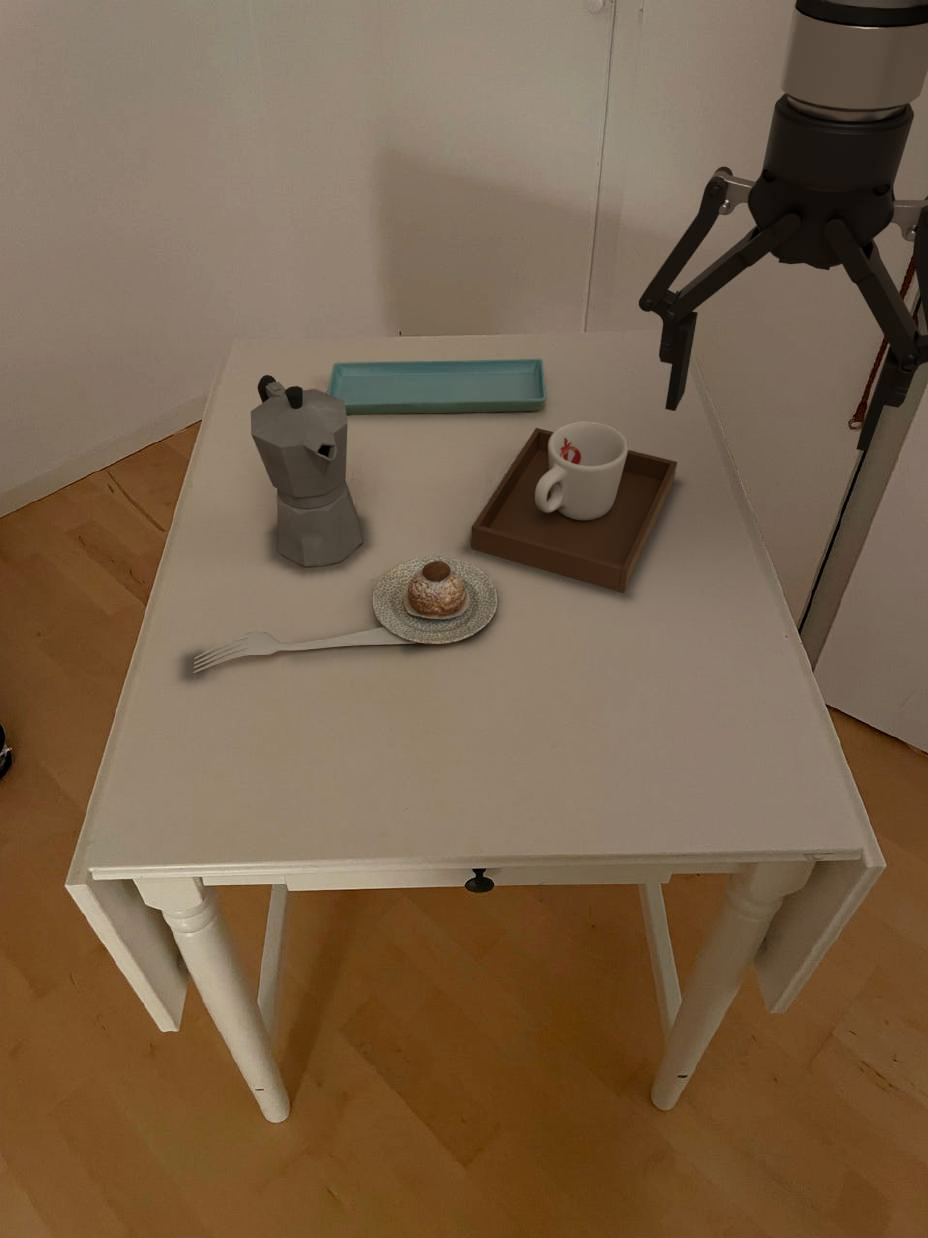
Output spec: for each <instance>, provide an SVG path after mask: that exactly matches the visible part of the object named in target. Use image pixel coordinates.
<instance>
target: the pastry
mask: <svg viewBox="0 0 928 1238" xmlns="http://www.w3.org/2000/svg"><path fill="white" fill-rule="evenodd" d="M371 606H372V609H373V612H374V615H375V617H376V619H377V621H378V622H379V623H380V624H381V625H382V627H385V628H386V629H387V630H389V631H390V632H392V633H394V634H396V635H398V636H399V637H402V638H405V639H406V640H407V641H409V642H412V641H413V642H417V643H418V644H428V645H441V644H450V643H454V642H460V641H462V640H465V639H467V638H469V637H472V636H473V635H475V634H477V633H478V632H480V631H481V630H482V629H484V628H485V627H486V626H487V625H488V624H489V623H490V622H491V621H492V618H494V616H495V613H496V611H497V609H498V593H497V590H496V587H495V585H494V583H493V581H492V579H490V577H489V575H488V574H486V573H485V572H484V571H483V570H482V569H480V568H479V567H477V566H476V565H473V564H472V563H469V562H466V561H464V560H461V559H458V558H454V557H445V556H440V555H439V556H438V555H432V556H431V555H430V556H421V557H417V558H413V559H410V560H408V561H405V562H402V563H398V564H397V565H395V566H393V567H392V568H391V569H389V570H388V571H387V572H385V573H384V574H383V575H382V576H381V577H380V578H379V579H378V580H377V582H376V584H375V586H374V588H373V590H372V598H371Z"/></svg>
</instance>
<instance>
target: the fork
mask: <svg viewBox="0 0 928 1238" xmlns="http://www.w3.org/2000/svg"><path fill="white" fill-rule="evenodd" d="M417 643H418V642H413V641H412V642H409V641H407V640H406V639H405V638H402V637H399V636H398V635H396V634H394V633H392V632H390V631H389V630H387V629H386V628H385V627H384V626H382V627H377V628H376V627H375V628H373V629H368V630H364V631H359V632H354V633H350V634H345V635H341V636H336V637H330V638H325V639H319V640H318V639H317V640H311V641H303V642H292V643H291V642H284V641H280V640H278V639H277V638H275V637H274V636H273V634H271V633H269V632H266V631H251V632H246V633H243V634H239V635H237V636H234V637H231V638H229V639H227V640H225V641H223V642H221V643H219V644H217V645H215V646H213V647H211V648H209V649H207V650H205V651H203V652H202V653H200V654H199V655H197V656H195V657H194V658H193V659H194V660H197V659H198V660H197V661H195V662H193V665H195V666H193V669H196V670H194V671H193V674H196V673H199V672H201V671H203V670H206V669H209V668H210V667H213V666H217V665H219V664H221V663H225V662H227V661H230V660H232V659H237V658H240V657H244V656H269V655H272V654H274V653H275V652H280V651H306V650H315V649H326V648H337V647H352V646H375V645H376V646H377V645H378V646H379V645H413V644H417ZM207 654H208V655H207ZM203 656H204V657H203ZM201 657H202V658H201ZM212 661H213V662H212ZM198 663H199V664H198ZM201 666H202V667H201ZM199 667H200V668H199ZM197 668H198V669H197Z"/></svg>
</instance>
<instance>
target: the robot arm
mask: <svg viewBox="0 0 928 1238" xmlns="http://www.w3.org/2000/svg"><path fill="white" fill-rule="evenodd" d="M791 14H792V15H791V20H790V25H789V31H788V35H787V41H786V46H785V51H784V57H783V61H782V66H781V72H780V78H779V81H778V82H779V83H778V84H779V87H780V89H781V90H782V92H783V95H781V96H780V97H779V99H777V100H776V101H775V104H774V107H773V113H772V118H771V122H770V128H769V133H768V137H767V142H766V143H767V144H766V147H765V153H764V158H763V162H762V167H761V172H760V175H759V176H758V178H757V179H756V181H753V180H750V179H746V178H742V177H739V176H735V175H734V173H733V171H732V169H731V168H729V167H728V166H720V167H718V168H717V169H716V170H715V171H714V173H713V174H712V175H711V177H710V178H709V180H708V182H707V184H706V185H705V187H704V190H703V193H702V197H701V198H702V199H701V202H700V205H699V209H698V212H697V214H696V215H695V217H694V219H693V220H692V221H691V223H690V224H689V225H688V227H687V229H686V230H685V231H684V233H683V234H682V235H681V237H680V239H678V242H677V243H676V245H675V246H674V247H673V249H672V250H671V252H670V253H669V255H668V256H667V257H666V259H665V260H664V262H663V263H662V264H661V266H660V268H659V269H658V270H657V272H656V273H655V275H654V276H653V278H652V279H651V281H650V282H649V283H648V285H647V287H646V288H645V289H644V291H643V293H642V295H641V296H640V298H639V299H638V307H639V309H640V310H642V311H643V312H644V313H649V312H653V313H654V314H656V315H658V316H659V318H661V319H660V320H661V321H662V329H661V336H660V344H659V349H658V357H659V361H660V362H661V363H664V364H668V365H669V364H671V368H670V374H669V381H668V386H667V387H668V388H667V395H666V401H665V408H664V409H665V410H668V411H672V412H676V410H677V409H678V406H679V404H680V403H681V401H682V399H683V396H684V395H685V393H686V385H687V379H688V375H689V369H690V368H689V367H690V363H691V357H692V350H693V344H694V339H695V332H696V325H697V320H698V315H699V314H698V313H699V312H698V311H695V310H696V309H697V308H698V307H700V306H701V305H702V304H704V303H705V302H706V301H707V300H708V299H710V298H711V297H712V296H713V295H715V294H717V292H718V291H720V290H721V289H722V288H724V287H725V286H727V284H729V283H730V282H731V281H732V280H733V279H735V278H736V277H737V276H739V275H740V274H741V273H742V272H744V271H745V270H746V269H748V268H750V267H752V266H754V265H755V264H756V263H757V262H759V261H760V260H761V259H762V258H764V257H765V256H767V254H769V253H770V254H771V255H772V257H775V258H776V259H778V263H779V264H785V265H798V264H806V265H808V266H810V267H812V268H814V269H817V270H824V271H830V269H831V268H833V267H837V266H840V265H842V266H843V269H844V270H845V272H846V274H847V276H848V278H849V279H850V281H851V282H852V283H853V284H855V285H856V286H857V288H858V290H859V292H860V294H861V296H862V297H863V299H864V301H865V303H866V305H867V306H868V308H869V310H870V312H871V313H872V316H873V317H874V319H875V321H876V323H877V325H878V326H879V328H880V330H881V332H882V334H883V336H884V337H885V339H886V341H887V343H888V344H889V346H888V348H887V351H886V355H885V358H884V361H883V364H882V367H881V370H880V373H879V376H878V378H877V381H876V383H875V384H876V385H875V387H874V390H873V394H872V396H871V400H870V403H869V405H868V407H867V411H866V414H865V417H864V420H863V423H862V426H861V429H860V432H859V437H858V441H857V444H856V450H857V451H862V452H869V449H870V446H871V444H872V440H873V438H874V435H875V432H876V429H877V426H878V423H879V420H880V418H881V415H882V412H883V409H884V406H886V407H887V406H888V407H892V408H897V409H899V408H901V406H902V405H903V403H904V402H905V400H906V398H907V395H908V392H909V389H910V387H911V385H912V382H913V379H914V377H915V374H916V372H917V370H918V369H919V367H921V365H923V364H926V363H928V334H922V333H921V331H920V330H919V328H918V326H917V323H916V322H915V319H914V318H913V316H912V315H911V313H910V310H909V309H908V307H907V305H906V303H905V301H904V299H903V297H902V295H901V294H900V292H899V290H898V288H897V287H896V284H895V283H894V281H893V279H892V277H891V275H890V273H889V271H888V268H887V266H886V265H885V264H884V262H883V260H882V257H881V254H880V250H879V247H878V244H877V243H876V242H875V240H874V239H875V238H876V237H877V236H878V235H879V234H881V233H882V232H883V231H885V229H886V228H888V227H889V225H890V224H891V223H892V224H896V225H897V226H899V228H900V232H901V237H902V238H903V240H905V241H907V242H912V243H913V251H912V252H913V253H912V257H913V263H914V269H915V274H916V279H917V284H918V289H919V294H920V295H919V296H920V299H921V306H922V310H923V315H924V320H925V321H924V322H925V326H926V331H927V332H928V195H927V196H926V197H925V198H924V199H896V195H895V191H894V187H895V182H896V179H897V175H898V172H899V169H900V165H901V161H902V159H903V155H904V152H905V149H906V145H907V141H908V138H909V135H910V131H911V128H912V126H913V125H912V124H913V122H914V118H915V111H914V110H913V108H912V105H911V103H912V102H913V101H915V100H917V99H918V98H919V97H920V96H921V93H922V90H923V88H924V84H925V80H926V77H927V74H928V0H796V1H795V3H794V5H793V9H792V13H791ZM740 204H747V208H748V210H749V212H750V214H751V216H752V219H753V220H754V224H755V226H753V228H751V229H750V230H749V231H748V232H747V234H745V236H744V237H742V238H741V239H740V240H739V241H737V242H736V243H735V244H734V245H733V246H732V247H730V248H729V249H728V250H727V251H726V252H724V253H723V254H722V255H721V256H720V257H719V258H716V260H715V261H714V262H712V263H711V264H710V265H709V266H708V267H706V268H705V269H704V270H703V271H701V272H700V274H698V275H697V276H696V277H694V278H693V279H692V280H691V281H690V282H688V283H687V284H686V285H684V287H682V288H681V289H680V290H676V291H675V292H673V291H671V290H670V287H671V286H672V284H673V283H674V282H675V280H676V279H677V277H678V276H680V274H681V272H682V270H683V269H684V268H685V266H686V265H687V264H688V262H689V261H690V260H691V258H692V257H693V256H694V255H695V254H694V253H695V252H696V251H697V250H698V248H699V247H700V246H701V244H702V243H703V241H704V240H705V238H706V237H707V235H708V234H709V233H710V231H711V230H712V228H713V227H714V226H715V223H716V221H717V220H718V218H719V217H720V216H728V215H730V214H732V213H733V212H734V210H735V209H736V207H737V206H738V205H740Z"/></svg>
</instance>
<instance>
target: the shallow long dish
mask: <svg viewBox="0 0 928 1238" xmlns="http://www.w3.org/2000/svg"><path fill="white" fill-rule="evenodd" d="M544 370H545V368H544V360H543V359H542V358H519V359H518V358H517V359H516V358H515V359H513V358H511V359H478V360H475V359H470V360H469V359H468V360H467V359H466V360H418V361H417V360H413V361H412V360H409V361H407V360H406V361H403V360H401V361H400V360H399V361H354V362H353V361H352V362H335V363H333V365H332V369H331V375H330V380H329V384H328V389H327V394H329V395H331V396H334V397H336V398H339V399H341V400H343V401H344V403H345V409H346V415H383V414H384V415H387V414H389V415H391V414H393V415H395V414H396V415H397V414H403V415H404V414H448V413H449V414H452V413H492V412H494V413H495V412H496V413H497V412H532V411H533V412H535V411H538V410H539V409H541V406H542V405H543V404H544V402H545V401H546V400H547V391H546V384H545V371H544Z"/></svg>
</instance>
